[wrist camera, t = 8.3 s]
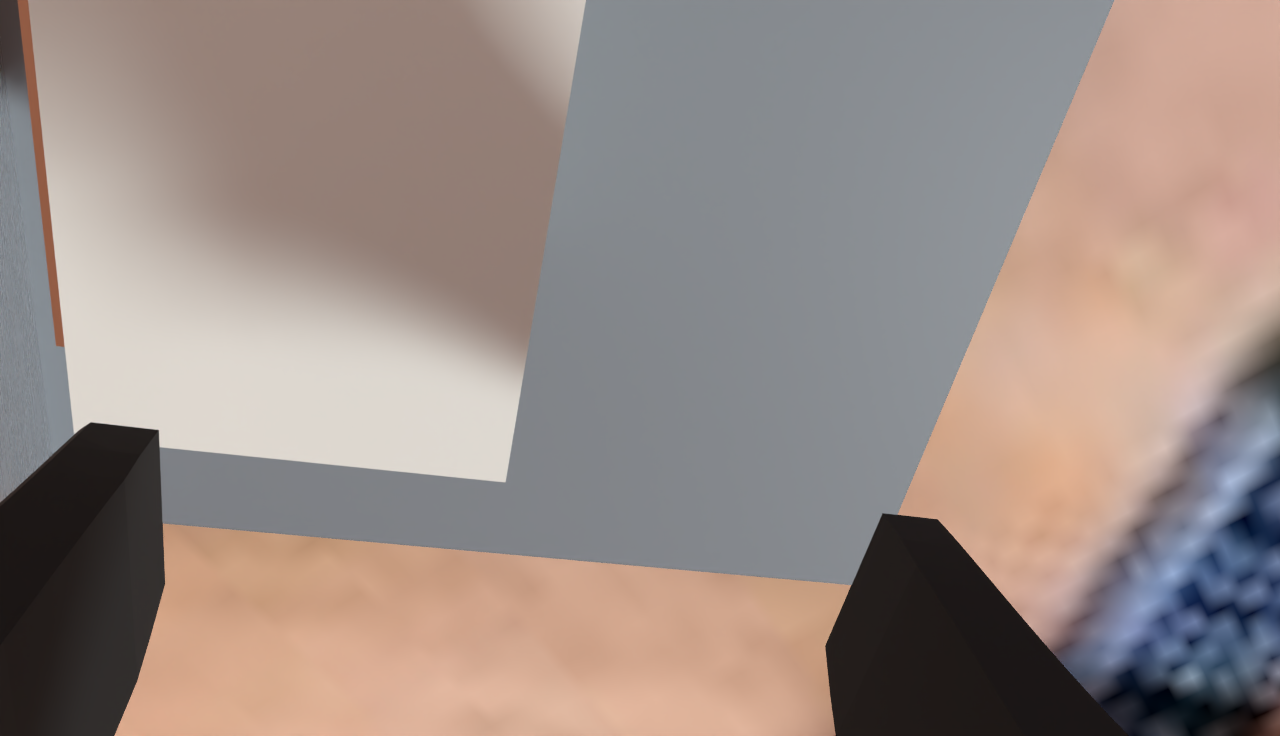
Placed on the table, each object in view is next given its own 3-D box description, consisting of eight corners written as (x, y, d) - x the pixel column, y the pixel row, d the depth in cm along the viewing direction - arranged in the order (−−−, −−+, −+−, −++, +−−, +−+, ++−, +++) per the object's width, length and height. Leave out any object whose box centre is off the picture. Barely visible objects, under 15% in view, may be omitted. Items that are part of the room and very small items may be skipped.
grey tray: (1221, -350, 16) (1366, -326, 13) (856, 553, 25) (894, 676, 22) (-165, -680, 13) (-357, -740, 10) (11, 472, 22) (-64, 603, 20)
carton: (585, -221, 15) (604, -108, 10) (516, 242, 19) (505, 482, 14) (153, -308, 14) (-48, -231, 9) (173, 195, 18) (37, 434, 13)
